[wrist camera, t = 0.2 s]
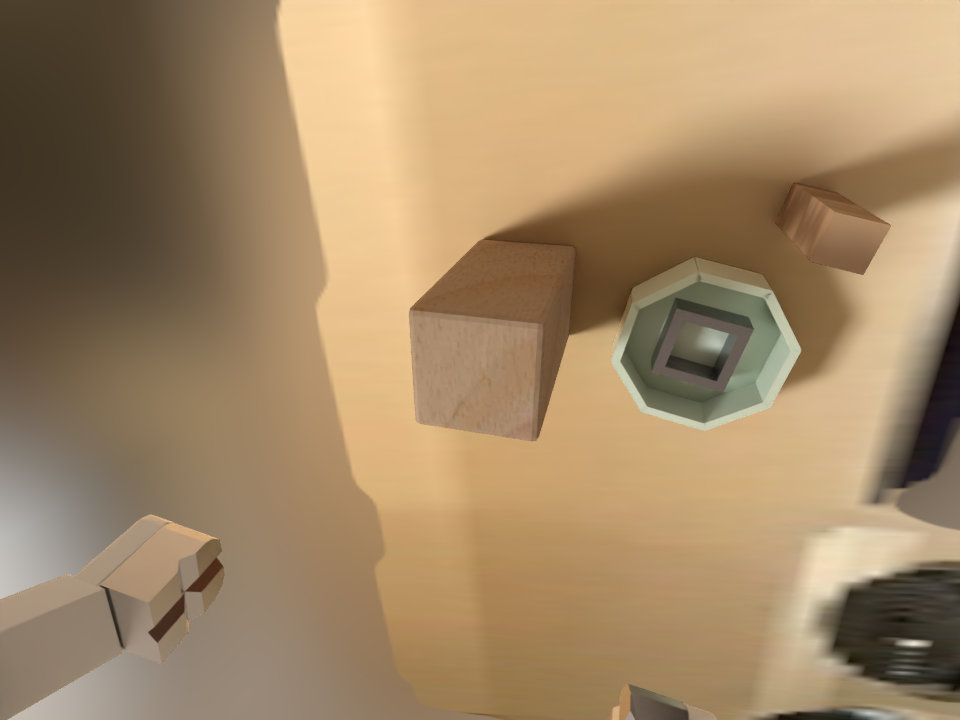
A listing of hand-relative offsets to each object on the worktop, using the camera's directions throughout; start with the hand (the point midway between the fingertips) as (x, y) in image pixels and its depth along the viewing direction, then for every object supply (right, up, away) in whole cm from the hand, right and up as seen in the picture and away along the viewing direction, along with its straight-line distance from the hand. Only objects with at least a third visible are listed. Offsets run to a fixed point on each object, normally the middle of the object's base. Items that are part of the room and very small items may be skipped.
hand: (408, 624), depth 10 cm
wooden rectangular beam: (+29, +18, +37) cm, 51 cm away
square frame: (+23, +7, +44) cm, 50 cm away
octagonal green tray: (+23, +7, +44) cm, 50 cm away
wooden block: (+6, +13, +47) cm, 49 cm away
